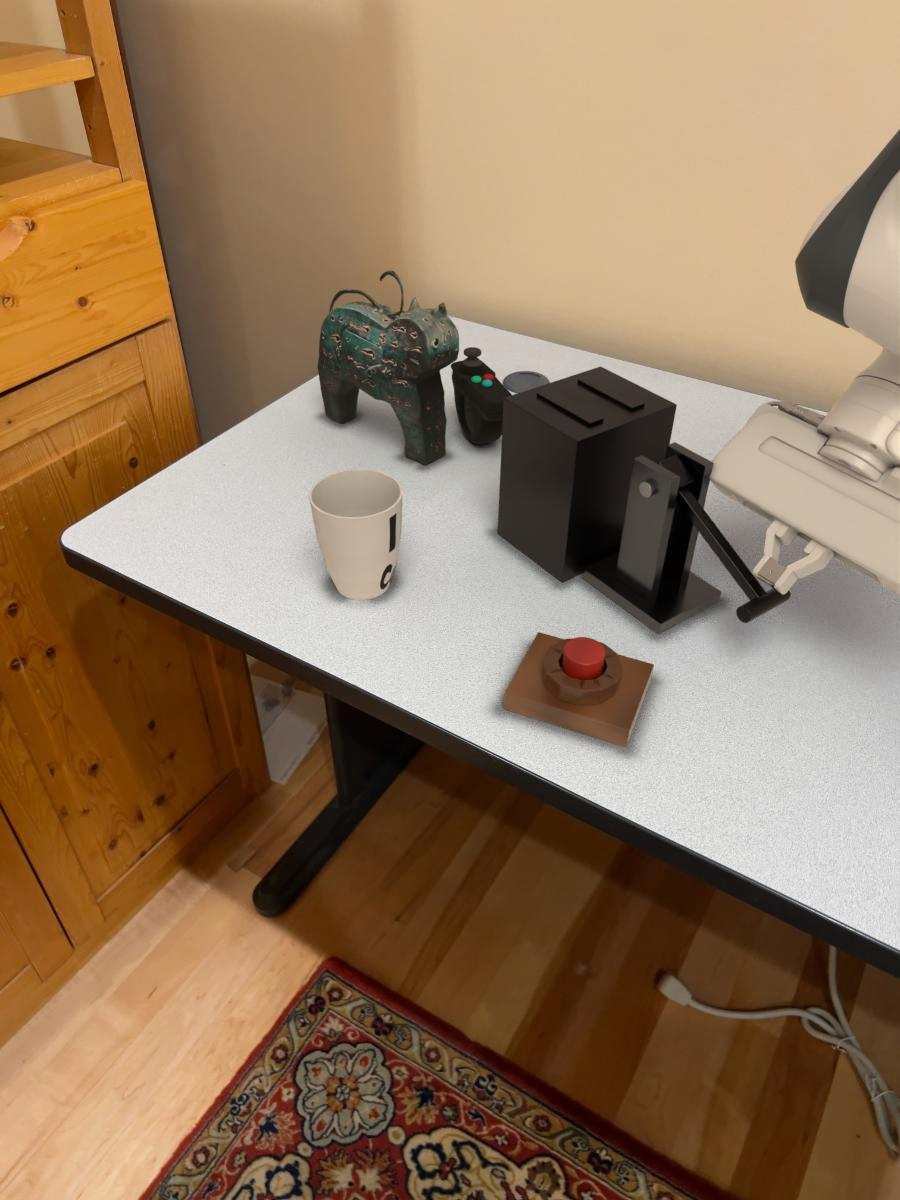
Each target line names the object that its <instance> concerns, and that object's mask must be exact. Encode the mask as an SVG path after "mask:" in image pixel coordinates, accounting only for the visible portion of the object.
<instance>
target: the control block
mask: <svg viewBox="0 0 900 1200" xmlns="http://www.w3.org/2000/svg"><path fill="white" fill-rule="evenodd" d="M573 638H574V637H573ZM573 638H561V637H558V636H554V635H550V634H547V633H543V632H540V631H538V632H537V633H536V635H535V637H534V638H533V640H532V643H531V644H530V646H529V648H528V649H527V652H525V655H524V657H523V659H522V661H521V662H520V664H519V667H518V668H517V670H516V671H515V673H514V675H513V677H512V679H511V681H510V683H508V685H507V688H506V690H505V692H504V699H503V701H504V702H503V703H504V704H503V710H505V711H508V712H512V713H515V714H518V715H521V716H524V717H526V718H527V717H528V718H531V719H534V720H537V721H540V722H543V723H547V724H550V725H554V726H556V727H559V728H563V729H565V730H569V731H572V732H575V733H578V734H582V735H586V736H588V737H591V738H594V739H598V740H601V741H604V742H608V743H610V744H614V745H618V746H621V747H623V748H627V746H628V744H629V741H630V738H631V736H632V733H633V730H634V728H635V725H636V722H637V720H638V716H639V714H640V711H641V709H642V706H643V703H644V700H645V698H646V695H647V692H648V691H649V687H650V684H651V681H652V678H653V672H654V667H655V664H654V663H650V662H647V661H643V660H640V659H637V658H633V657H629V656H626V655H622V654H618V653H617V652H616V651H615V650H614V649H612V648H611V647H610V646H608V645H607V644H605V643H604V642H602V641H598V642H599V643H601V644H602V646H603V647H604V649H605V659H604V665H603V671H602V673H601V674H600V675H599V676H598V677H597V678H595V679H592V680H579V679H575V678H572V677H570V676H569V675H567V674H566V673H565V671H564V670H563V667H562V661H563V653H564V646H565V644H566V643H567V642H568V641H569V640H571V639H573Z"/></svg>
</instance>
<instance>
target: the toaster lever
mask: <svg viewBox="0 0 900 1200" xmlns="http://www.w3.org/2000/svg"><path fill="white" fill-rule="evenodd" d="M657 464H658V465H660V466H662V467H664V468H665V469H667V470H669V471H671V472H673V473H674V474H676V475H678V476H680V483H679V488H678V493H677V498H676V502H677V503H678V504H679V506H680V507H681V508H682V510H683V511H684V513H685V514H686V515H687V517H688V518H689V519H690V521H691V522H692V523H693V525H694V526H695V527H696V529H697V530H698V531H699V532H698V534H700V535H701V537H702V538H703V540H704V541H705V543H706V544H707V545H708V546H709V548H710V549H711V550H712V552H713V553H714V554H715V556H716V557H717V558H718V560H719V561H720V563H721V564H722V565H723V566H724V568H725V569H726V570H727V572H728V573H729V574H730V575H731V577H732V579H733V580H734V581H735V582H736V584H737V585H738V586H739V588H740V589H741V590H742V592H743V594H745V596H746V597H747V599H748V600H749V601H747V602H745V603H743V604H741V605H740V606H738V607H737V608H736V610H735V614H736V617H737V619H738V620H739V621H740V622H741V623H743V624H747V623H748V624H749V623H751V622H752V621H753V620H755V619H757V618H759V617H760V616H763V615H765V614H766V613H768V612H770V611H772V610H773V609H774V608H777V607H778V606H780V605H782V604H784V603H785V602H787V601H789V600H790V598H791V597H792V596H791V590H790V589H789V590H788V592H787V593H786V594H784V595H783V594H781V593H779V592H778V591H776V590H775V589H773V588H772V587H771V588H769V590H765V589H764V587H763V586H762V585H761V583H760V581H759V580H758V579H757V578H756V577H755V576H754V575H753V574H752V571H751V570H750V568H749V567H748V566H747V565H746V563H745V562H744V561H743V559H742V558H741V557H740V555H739V554H738V553H737V551H736V549H735V548H734V547H733V546H732V545H731V543H730V542H729V540H728V539H727V538H726V536H725V535H724V534H723V533H722V531H721V530H720V528H719V527H718V526H717V525H716V523H715V522H714V521H713V519H712V518H711V517H710V515H709V514H708V513H707V511H706V510H705V508H704V509H703V508H702V506H701V505H700V504H699V502H698V501H697V500H696V498H695V497H694V496H693V494H692V493H691V492H690V490H689V489H688V488H689V487H690V486H691V484H692V483H693V482H694V481H695V479H694V477H693V476H692V475H691V473H690V472H689V471H688V470H687V468H686V467H685V466H684V464H683V463H682V462H681V460H680V459H679V458H678V456H677V455H675V456H672V457H670V458H667V459H665V460H663V461H660V462H658V463H657Z"/></svg>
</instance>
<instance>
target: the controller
mask: <svg viewBox="0 0 900 1200" xmlns="http://www.w3.org/2000/svg"><path fill="white" fill-rule="evenodd" d="M463 355H464V356H465V357H466V358H465V359H463V360H458V361H454V362H453V363H451V364H450V368H451V370H452V372H451V381H452V387H453V397H454V405H455V411H456V415H457V418H458V420H457V421H458V423H459V426H460V428H461V431H462V433H463V435H464V436H465V438H466V439H467V440H468V441H470V442H471V443H473V444H476V445H484V444H488V443H493V442H496V441H498V440H499V439H500V438H502V426H503V405H504V398H505V397H508V396H511V395H513V394H512V393H511V392H510V390H509V389H507V387H506V386H504V384H503V383H502V382H501V380H499V379H498V378H497V376H496V374H497V373H496V372H495V371H494V370H493V369H491V367H490V366H489V365H488V364H486V363H485V362H484V361H482V360H481V359H480V358H478V357H480V356H482V349H480V348H479V347H475V346H470V347H466V348H464V349H463Z"/></svg>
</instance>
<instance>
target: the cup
mask: <svg viewBox="0 0 900 1200" xmlns="http://www.w3.org/2000/svg"><path fill="white" fill-rule="evenodd" d="M308 499H309V505H310V508H311V509H310V510H311V515H312V518H313V526H314V531H315V537H316V540H317V543H318V546H319V549H320V552H321V556H322V558H323V563H324V566H325V568H326V570H327V573H328V574H329V576H330V578H331V580H332V582H333V584H334V586H335V588H336V590H337V592H338V593H339V594H340V595H342V596H343V597H344V598H347V599H350V600H353V601H354V600H355V601H367V600H371V599H375V598H378V597H380V596H382V595H383V594H385V593H386V592H387V590H388V589H389V588H390V585H391V582H392V578H393V576H394V573H395V570H396V568H397V567H396V566H397V563H398V557H399V549H400V543H401V538H402V531H403V530H402V529H403V528H402V527H403V526H402V525H403V487H402V484H401V483H400V482H399V481H398V480H397V479H396V478H395V477H394V476H392V475H390V474H387V473H385V472H383V471H380V470H374V469H367V468H355V469H354V468H353V469H345V470H341V471H340V470H339V471H336V472H334V473H330V474H327V475H326V476H323V477H322V478H320V479H319V480H317V481H316V482H315V483H314V484H313V485H312V487H310V490H309V494H308Z"/></svg>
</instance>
